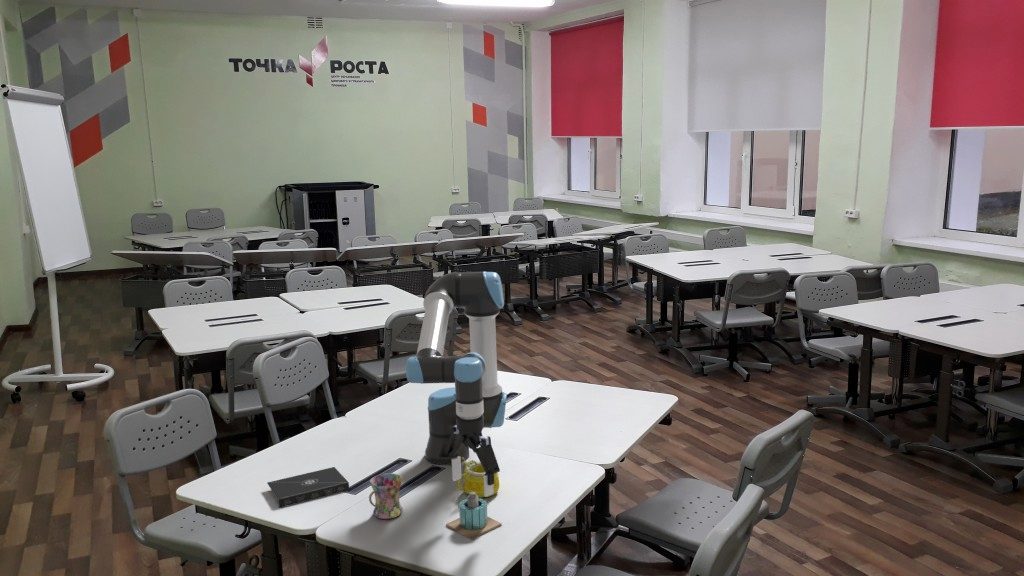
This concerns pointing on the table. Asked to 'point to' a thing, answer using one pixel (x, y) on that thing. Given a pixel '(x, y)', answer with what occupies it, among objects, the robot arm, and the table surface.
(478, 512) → the teal slatted pot
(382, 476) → the mug
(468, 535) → the peg on square base
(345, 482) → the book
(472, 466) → the mug
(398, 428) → the table surface
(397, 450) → the table surface
